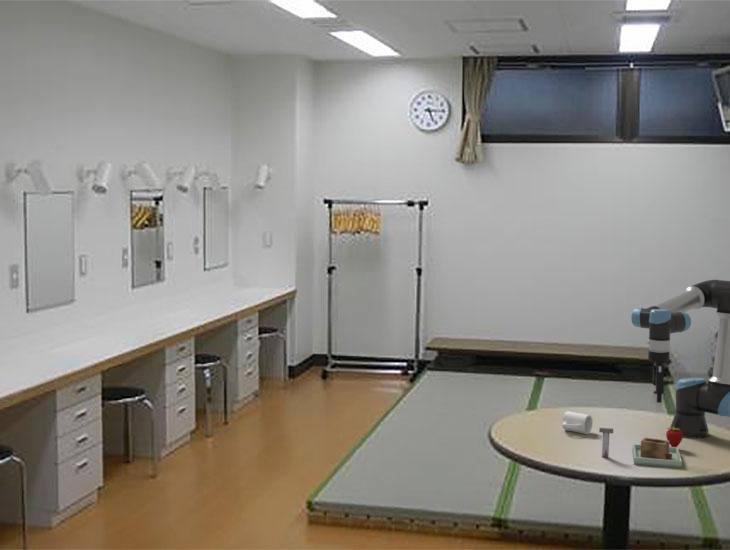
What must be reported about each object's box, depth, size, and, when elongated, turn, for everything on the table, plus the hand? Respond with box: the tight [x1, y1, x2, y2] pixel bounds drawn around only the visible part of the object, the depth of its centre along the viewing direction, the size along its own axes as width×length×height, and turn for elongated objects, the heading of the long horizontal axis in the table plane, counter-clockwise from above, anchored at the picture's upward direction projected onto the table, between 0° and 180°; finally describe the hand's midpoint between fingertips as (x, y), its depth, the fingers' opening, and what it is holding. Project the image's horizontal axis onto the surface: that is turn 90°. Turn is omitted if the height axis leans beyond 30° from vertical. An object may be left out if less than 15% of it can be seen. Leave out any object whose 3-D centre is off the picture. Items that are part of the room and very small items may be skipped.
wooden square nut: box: [640, 437, 672, 460], centre depth 351 cm, size 11×6×6 cm, turn 59°
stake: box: [598, 427, 614, 459], centre depth 353 cm, size 5×2×11 cm, turn 76°
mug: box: [561, 410, 594, 435], centre depth 389 cm, size 12×10×8 cm
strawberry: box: [665, 424, 684, 448], centre depth 366 cm, size 6×8×10 cm
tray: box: [631, 443, 683, 469], centre depth 352 cm, size 17×20×2 cm
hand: (657, 406), depth 353 cm, fingers open, 13 cm apart
